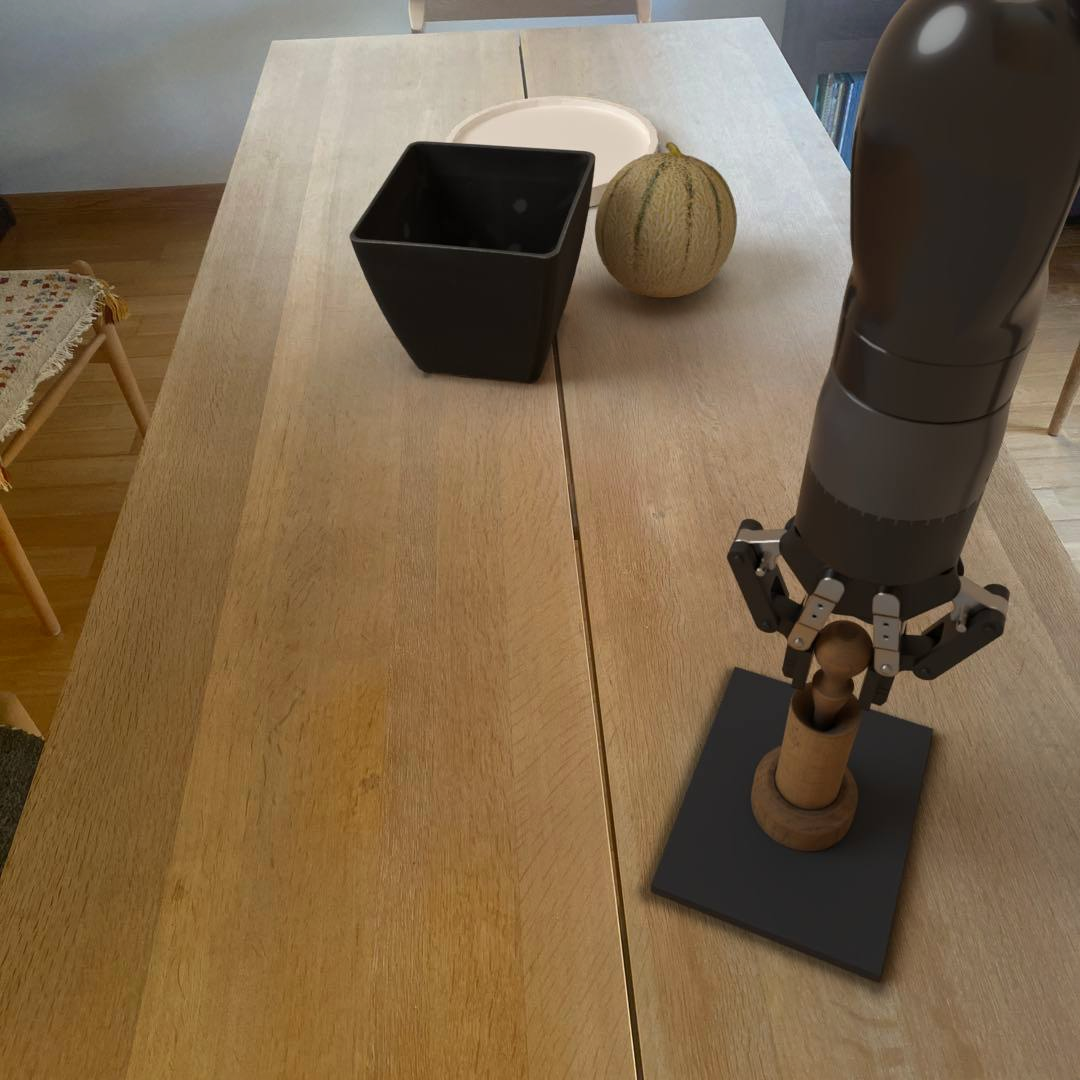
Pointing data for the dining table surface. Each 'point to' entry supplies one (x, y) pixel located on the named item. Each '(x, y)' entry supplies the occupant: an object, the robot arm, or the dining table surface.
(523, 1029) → the dining table surface
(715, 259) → the cantaloupe
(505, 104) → the plate
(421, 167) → the flower pot
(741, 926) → the mat
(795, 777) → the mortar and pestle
